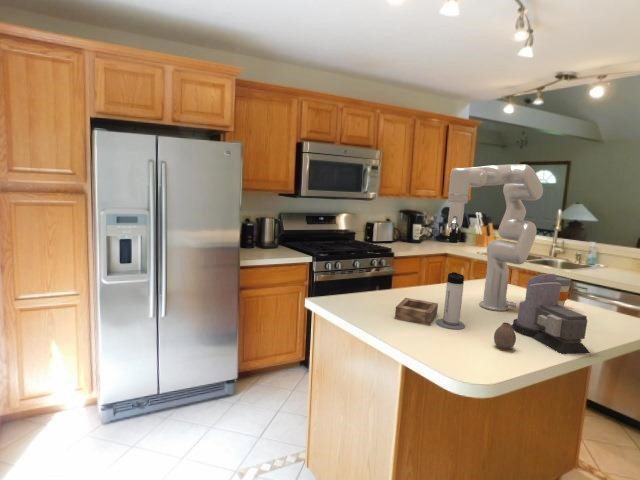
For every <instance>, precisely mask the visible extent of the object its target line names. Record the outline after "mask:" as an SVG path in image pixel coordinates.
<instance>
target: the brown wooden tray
mask: <svg viewBox="0 0 640 480" xmlns="http://www.w3.org/2000/svg"><path fill="white" fill-rule="evenodd" d="M438 307H439V303H438V302H433V301H426V300H421V299H415V298H409V297H404V299H403V300H401V301H400V303H398V304H397V305H396V306H395V310H394V311H395V313H394V319H395V320H400V321H406V322H410V323H415V324H421V325H427V326H430V325H431V324H432V323H433V321H434V319H435V318H436V317H437V315H438Z"/></svg>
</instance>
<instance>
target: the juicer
mask: <svg viewBox="0 0 640 480" xmlns="http://www.w3.org/2000/svg"><path fill="white" fill-rule="evenodd" d="M557 275H558V274H555V273H545V274H539V275H536V276H531V277H530V278H528V280H527V285H526V292H525V297H524V300H521V301H519V304H518V312H517V318H514V319H513V320H512V324H510V325H511V327H512V329H513V330H514V332H515V333H517V334H519V335H522V336H525V337H528V338H531V339H533V340H535V341H537V342H538V343H540V344H542V345H544V346H546V347H547V346H548V347H547V348H549V349H551V350H554V351H555V352H556V351H557V353H558V354H560V353H561V354H560V355H578V354H579V355H585V354H586V353H589V354H591V352H590V350H588V349H587V347H586V346H585V345H584V343H582V340H585V337H586V332H587V326H588V318H587V317H588V316H586V315H585V314H582V313H579V312H577V311H575V310H572V309H569V308H567V307H562V306H560V305H558V303H559V296H560V289H561V284H560V283H557V282H556V276H557Z"/></svg>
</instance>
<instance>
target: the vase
mask: <svg viewBox="0 0 640 480" xmlns="http://www.w3.org/2000/svg"><path fill="white" fill-rule="evenodd" d="M511 325H512V324H511V323H509V322H503V323H502V324H501V325H499V326H498V327H497V328H496V329H495V332H494V335H493V342H494V344H495V346H496V347H497V348H498V349H500V350H504V351H508V350H512V349H513V348H514V347H515V344H516V340H517V335H516V332H515V331H514V330H513V329H512V327H511Z"/></svg>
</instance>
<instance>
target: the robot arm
mask: <svg viewBox="0 0 640 480" xmlns="http://www.w3.org/2000/svg"><path fill="white" fill-rule="evenodd" d="M449 177H450V178H449V186H448V199H447V203H450V205H449V209H448V210H449V211H448V219H447V227H448V228H450V229H449V236H448V242H449V243H452V244H453V243H454V244H457V243H458V241H459V240H460V239H461V227H462V225H463V220H464V213H465V204H469V191H470V188H480V187H482V186H488V187H489V186H498V185H499V186H500V185H503V190H502V191H503V196H504V200H505V205H506V209H505V213H504V214H503V217H502V219H501V222H500V224H499V227H498V230H497V232H498V233H497V234H498V236H499V237H500V238H502V239H493V240H491V241H489V243H488V244H487V246H486V256H487V257H486V259H487V263H486V265H487V266H486V272H485V273H486V274H485V282H484V292H483V300H482V301H481V300H480V301H479V303H478V305H479V307H481V308H483V309H486V310H490V311H496V312H504V311H505V312H506V311H508V310H509V308H510V307H512V308H517V303H516V302H513V301H508V300H507V293H508V284H509V278H510V277H509V276H510V268H509V266H508V263H509V264H514V265H523V264H525V262H526V261H527V259H528V257H529V255H530V253H531V249H532V247H533V245H534V242H535V239H536V237H537V226H536V224H535V223H534V222H532V221H530V220H525V217H526V214H527V210H526V207H525V205H524V203H523V201H537V200H540V199H541V197H542V196H543V193H544V187H543V184H542V181H541V179H540V178H539V176H538V175H537V173H536V172H535V169H533V168H532V167H531V166H530V165H528V164H525V163H524V164H523V163H522V164H520V163H519V164H516V163H515V164H497V165H483V166H475V167H473V166H472V167H453V168H452V169H451V170H450V176H449ZM522 200H523V201H522ZM514 241H515V242H514Z"/></svg>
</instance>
